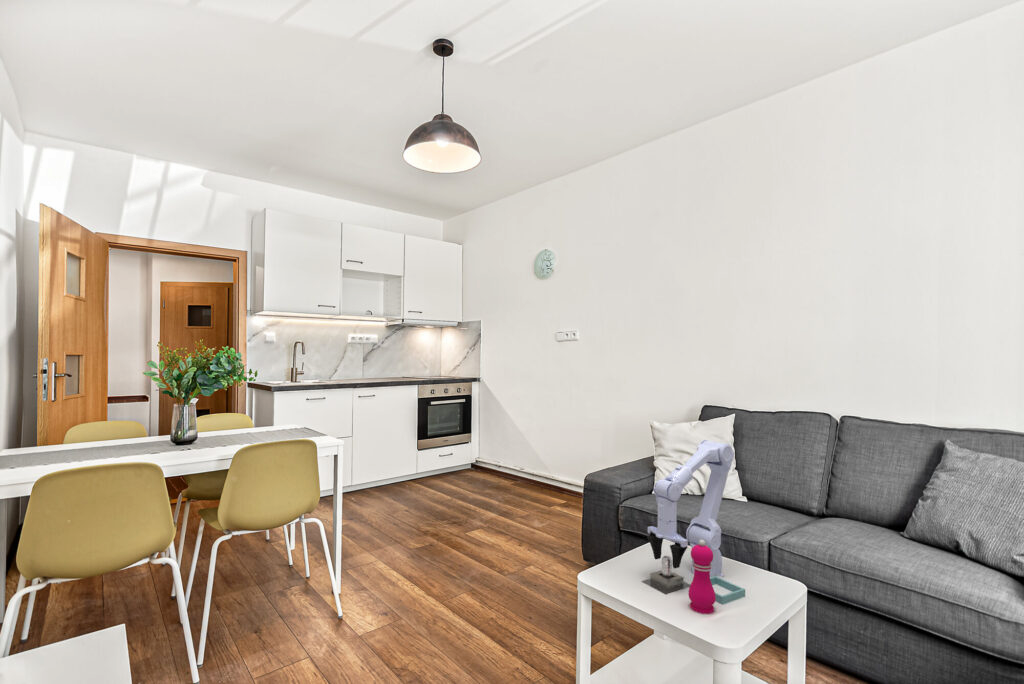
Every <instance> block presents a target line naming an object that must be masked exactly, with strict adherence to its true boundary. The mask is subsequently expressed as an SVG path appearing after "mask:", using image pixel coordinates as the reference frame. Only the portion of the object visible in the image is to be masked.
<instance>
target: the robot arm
mask: <svg viewBox="0 0 1024 684" xmlns="http://www.w3.org/2000/svg"><path fill="white" fill-rule="evenodd" d="M734 456H735V453H734V451H733V449H732V445H730V444H729V443H726V442H725V443H722V442H716V441H711V440H708V439H702V440H701V441H700V443H699V444H697V446H696V451H695V452H694V454H693V455H692V456H691V457H689V460H688V461H687V462H685V464H684V465H682V464H680V465H676V466H675V468H674V469H673V470H672V471H671V472H670V473H669V474H668V475H667V476H666V477H664V478H661V479H660V478H659V480H657V481H656V482H655V484H654V488H653V489H652V490H653V494H654V496H655V501H656V503H657V527H656V526H653V525H651V526H647V533H648V534H649V535H647V538H646V539H647V540H648V542H649V544H650V546H651V550H652V554H653V558H654V560H659V559H662V558H661V557H662V549H663V548H662V545H663V541H664V540H666V541H669V542H671V543H673V544H669V548H670V552H671V557H672V558H671V559H672V569H678V568H680V567H681V562H682V559H683V556H684V555H685V552H686V550H687V549H688V547H689V546H690V547H691V549H692V548H693V547H694V546H695V545H699V540H704V541H705V546H707V547H709V548H710V549H711V550H712V552H713V561H712V562H711V570H710V578H711V577H714V576H716V575H718V576H720V577H722V578H723V577H725V574H723V573H722V572H723V571H722V569H723V565H722V564H723V562H722V561H723V557H722V553H721V551H720V549H719V548H720V547H721V543H722V537H721V535H722V529H721V527H720V525H719V524H718V522H717V519H718V515H719V510H720V508H721V507H720V506H721V503H722V499H723V494H724V492H725V489H726V483H727V480H728V477H729V476H728V475H729V473H730V471H731V468H732V467H731V466H732V463H733V460H734ZM705 464H706V466H707V467H709V469H710V474H709V477H708V481H707V484H706V489H705V493H704V496H703V499H702V504H701V507H700V512H699V515H698V516H695V517H694V518H692V519H691V521H690V524H689V526H688V527H687V529H686V533H685V535H686V538H684V537H683V536H682V535H680V534H678V533H677V531H678V530H677V524H678V523H677V512H678V511H677V510H678V509H677V507H678V506H677V503H678V500H679V499H680V497H681V495H682V492H683V490H684V488H685V487H686V486H687V485H688V484H689V483H690V482H691V481H692V480H693V479H694V478H693V476H694V475H693V474H694V473H695V472H696V471H698V470H699V469H701V467H702V466H704V465H705ZM688 544H689V546H688ZM693 561H694V560H693V559H692V558H691V573H692V574H693V575H694V568H693Z"/></svg>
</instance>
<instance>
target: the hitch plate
mask: <svg viewBox="0 0 1024 684" xmlns="http://www.w3.org/2000/svg"><path fill="white" fill-rule="evenodd" d="M649 575H650V578H648V579H644V580H641V581H640V582H642V583H643V584H645V585H646V586H649V587H651V588H653V589H654V590H656V591H658V592H660V593H661V594H664V595H669V594H672V593H676V592H678V591H682V590H685V589H688V588H690V585H691V583H688V582H686V581H684V580H685V578H684V577H683V576H681V575H679V574H677V573H676V572H673V571H672V578H669V579H666V578H664V577H662V569H661V570H657V571H654V572H651V573H650V574H649Z"/></svg>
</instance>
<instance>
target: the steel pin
mask: <svg viewBox="0 0 1024 684" xmlns="http://www.w3.org/2000/svg"><path fill="white" fill-rule="evenodd" d="M661 570H662V577H664V578H666V579H669V578H672V572H673V560H672V558H671V556H669V555H664V556H663V557H662V558H661Z"/></svg>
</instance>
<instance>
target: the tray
mask: <svg viewBox="0 0 1024 684" xmlns="http://www.w3.org/2000/svg"><path fill="white" fill-rule="evenodd" d="M710 580H711V584H712V586H714V585H717V586H719V587H722V588H724V589H725V590H728V591H730V592H729V593H725V594H723V595H721V594H719V593H718V592H715V596H716V601H715V603H718V604H720V605H725V604H728V603H730V602H734V601H736V600H739V599H742V598H745V597H746V589H745V588H743V587H740V586H739V585H737V584H733V583H731V582H729V581H727V580H725V579H723V578H721V577H718V576H716V575H715V576H714V577H710Z"/></svg>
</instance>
